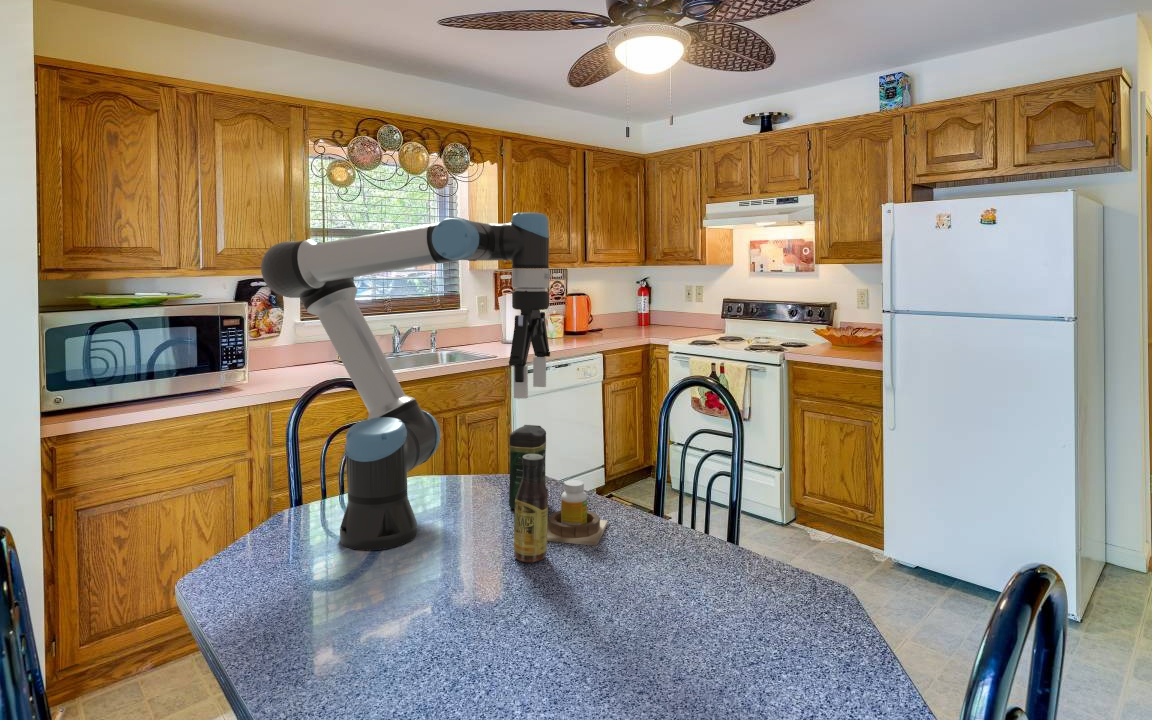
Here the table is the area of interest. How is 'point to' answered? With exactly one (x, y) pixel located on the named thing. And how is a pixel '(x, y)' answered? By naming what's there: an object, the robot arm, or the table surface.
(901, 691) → the table surface
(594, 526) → the collar
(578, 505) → the supplement bottle
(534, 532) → the sauce bottle
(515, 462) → the coffee jar
